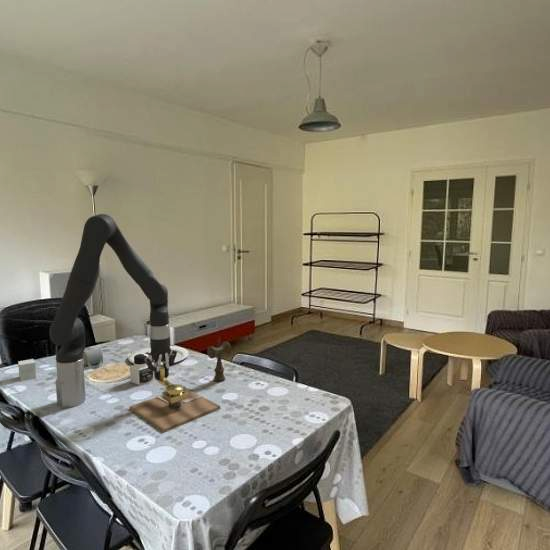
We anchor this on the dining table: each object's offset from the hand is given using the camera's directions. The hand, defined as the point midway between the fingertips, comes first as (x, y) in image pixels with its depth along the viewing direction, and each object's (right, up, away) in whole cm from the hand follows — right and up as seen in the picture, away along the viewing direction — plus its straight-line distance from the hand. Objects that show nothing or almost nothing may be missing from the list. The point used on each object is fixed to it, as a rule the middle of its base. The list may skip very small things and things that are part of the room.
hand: (161, 378), depth 154 cm
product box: (-67, -6, +23) cm, 71 cm away
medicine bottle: (-14, -7, +20) cm, 25 cm away
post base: (+7, -10, -6) cm, 13 cm away
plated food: (-16, -3, +50) cm, 52 cm away
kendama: (+19, -7, +22) cm, 30 cm away
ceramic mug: (-44, -4, +39) cm, 59 cm away
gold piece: (+4, -5, -4) cm, 8 cm away
